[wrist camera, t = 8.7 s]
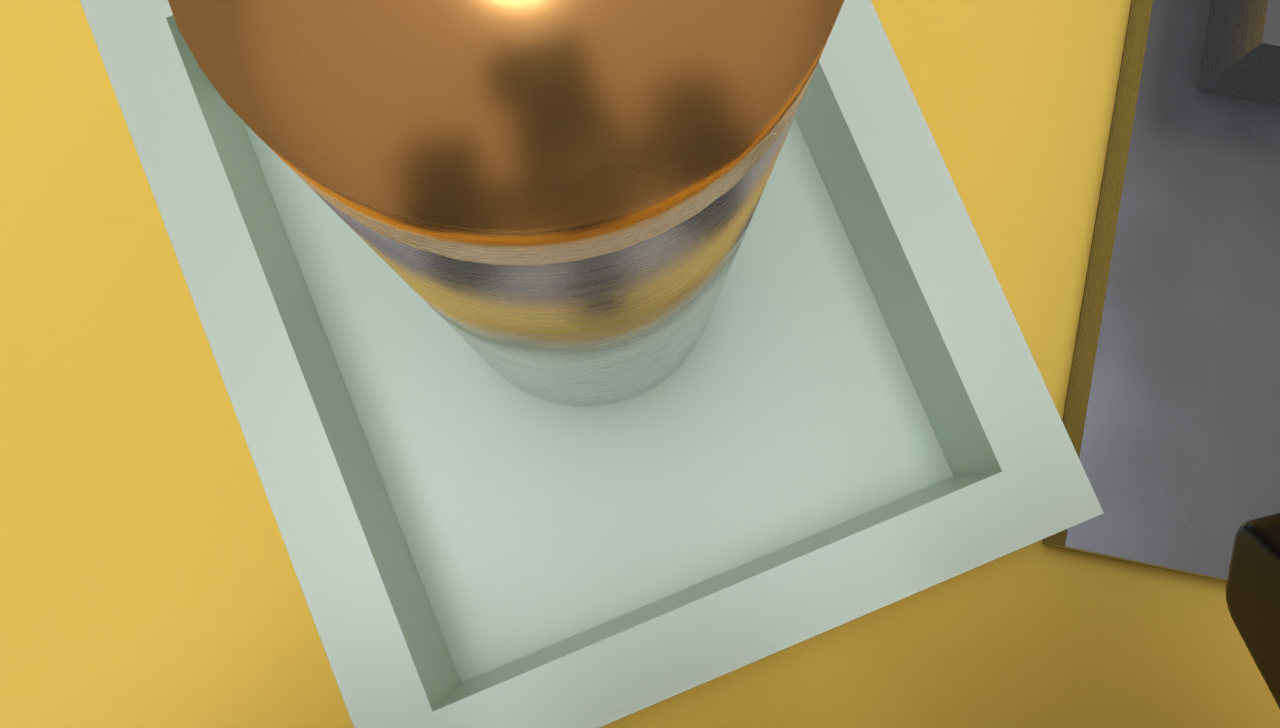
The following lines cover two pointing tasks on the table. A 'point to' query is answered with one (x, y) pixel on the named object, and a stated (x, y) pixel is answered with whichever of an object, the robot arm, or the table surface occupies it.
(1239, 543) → the robot arm
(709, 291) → the pin
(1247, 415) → the grey slab
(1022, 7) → the table surface
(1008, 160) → the table surface
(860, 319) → the tray
